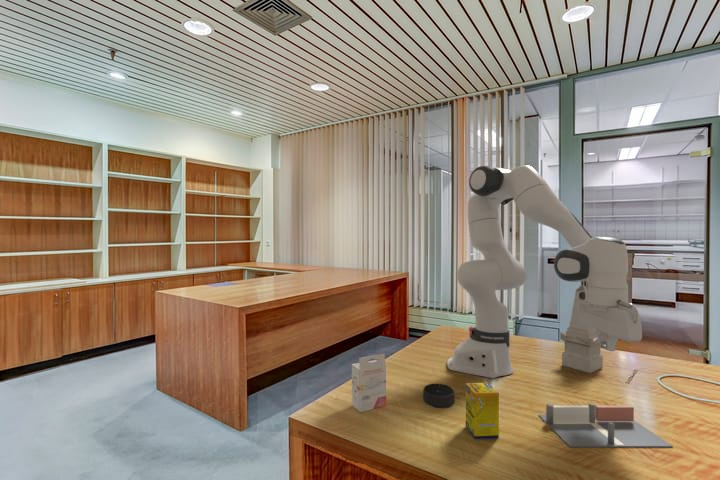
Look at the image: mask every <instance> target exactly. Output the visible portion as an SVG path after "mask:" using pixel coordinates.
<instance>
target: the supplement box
mask: <svg viewBox="0 0 720 480" xmlns="http://www.w3.org/2000/svg"><path fill="white" fill-rule="evenodd" d="M499 413H500V393H499V392H498V391H497V390H496V389H495V388H494V387H493V386H492V385H491V384H490V383H489V382H468V383H467V382H466V383H465V427H466V429H467V430H468V431H469V433H470V434H471V435H472V437H473V439H474V440H476V441H477V440H491V439H492V440H493V439H499V437H500V436H499V432H500V431H499V425H500V423H499V422H500V420H499V419H500V417H499V415H500V414H499Z"/></svg>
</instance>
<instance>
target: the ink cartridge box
mask: <svg viewBox="0 0 720 480" xmlns="http://www.w3.org/2000/svg"><path fill="white" fill-rule="evenodd" d="M372 359H373V360H372ZM358 360H359V361H358V363H352V364H351V396H352V398H351V400H352V401H351V402H352V407H353V408H354V409H356V410H357V411H358V412H360V413H362V412H367V411H370V410H375V409H379V408H382V407H385V406H387V374H386V373H387V367H386V366H387V365H386V354H385V353H379V354H372V355H367V356H363V357H359V358H358Z"/></svg>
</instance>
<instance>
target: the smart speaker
mask: <svg viewBox="0 0 720 480" xmlns="http://www.w3.org/2000/svg"><path fill="white" fill-rule="evenodd" d="M422 400H423V401H424V403H425V404H427V405H428V406H429V407H432V408H437V409H446V408H447V409H448V408H450V407H452V406H453V405H454V404H455V402H456V393H455V390H454V389H453V388H452V387H451V386H449V385H448V384H444V383H429V384H426V385H425V386H424V387H423V389H422Z"/></svg>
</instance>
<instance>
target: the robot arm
mask: <svg viewBox="0 0 720 480" xmlns="http://www.w3.org/2000/svg"><path fill="white" fill-rule="evenodd" d="M468 186H469V189H470V190H471V191H472V193H474V194H473V195H472V196H470V198H469V199H468V202H467V221H468V222H467V223H468V231H469V238H470V243H471V245H472V247H473V248H474V249H476V251H477V250H478V251H479V252H480V253H481V254H482V255H483V257H484V259H474V260H469V261H465V262H462V263H461V264H460V265H459V267H458V269H457V273H456V274H457V275H456V278H457V279H456V280H457V281H458V284H459V285H460V286H461V288H463V289H464V290H465V291H466V292H467V293H468V295H469V296H470V298H471V300H472V303H473V307H474V314H475V315H474V319H475V321H474V322H475V326H473V325H471V326H469V328H468V331H469V337H468V338H467V339H465V340H463V341H462V342H461V343H459V344H458V345H457V346H456V347H455V349H454V352H453V356H451V357H449V358H448V360H447V363H446V367H447V368H448V369H449V370H450V371H454V372H458V373H465V374H470V375H474V376H479V377H484V378H491V379H496V378H498V377H501V376H502V377H503V376H509V375H511V374H513V373H514V369H513V365H512V360H511V356H510V345H511V334H510V330H509V310H508V306H506V305H505V304H504V303H503V302H501V301H499V300H498V298H497V294H496V291H506V290H507V291H508V290H513V289H517V288H519V287H521V286H523V285H524V284H525V282H526V281H527V280H526V279H527V270H526V268H525V266H524V264H523V263H522V262H521V261H519V260H517V259H516V258H515V257H514V256H513V254H512V253H511V252H510V250H509V249H508V246H507V245H506V242H505V240H504V235H503V231H502V226H501V225H502V224H501V219H500V215H499V207H500V205H503V206H505V205H507V204H509V203H510V202H512V201H513V202H514V203H515V205H516V207H517V208H518V210H519V211H520V213H521V214H522V215H523V216H524V217H525V218H526V219H527V220H528V221H531V222H532V223H535V224H540V225H543V226H546V227H549V228H552V229H553V230H555V231H557V232H558V233H560V235H561V236H562V237H563V238H564V239H565V242H567V243H568V244H569V246H570V248H566V249H562V250H560V251H559V252H558V253H556V254H555V255H556V256H554V260H553V261H554V262H553V268H554V272H555V273H556V275H557V276H558V278H560V279H561V280H563V281H566V282H570V283H571V282H573V283H575V282H576V283H577V282H587V286H588V287H587V289H586V290H583V291H579V292H578V293H577V297H578V299H580V300H579V303H578V318H579V321H580V323H581V324H583V325H586V326H588V327H591V328H593V329H596V330H597V336H598V338H599V341H600V349H604V350H607V351H609V352H615V351H616V345H617V343H618V341H620V340H621V341H623V342H627V343H628V342H629V343H639V342H641V340H642V339H643V328H642V327H643V326H642V321H641V316H640V314H639V313H640V312H639V311H638V309H637V307H635V305H634V304H633V303H631V302H629V285H628V281H627V276H628V272H629V256H628V249H627V245H626V243H625V242H624V241H623V240H621V239H619V238H615V237H609V236H594V237H593V236H592V235H591V234H590V233H589V232H588V231H587V229H586V228H585V227H584V225H583V224H582V223H581V222H580V220H579V219H578V218H577V217H576V216H575V214H574V213H572V212H571V211H570V210H569V209H568V208H567V207H566V206H565V204H564V203H562V201H561V200H560V199H559V198H558V196H557V195H556V194H555V192H554V191H553V190H552V188H551V187H550V185H549V184H548V182H547V181H546V180H545V179H544V177H543V176H542V175H541V174H540V173H539V172H538V171H537V170H536V169H535V168H533V166H530V165H528V164H527V165H525V164H524V165H519V166H517V167H514V169H512V170H510V169H507V168H504V167H497V166H491V165H481V166H478V167H476V168H474V170H472V172H471V173H470V175H469V179H468ZM619 339H620V340H619Z"/></svg>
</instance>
